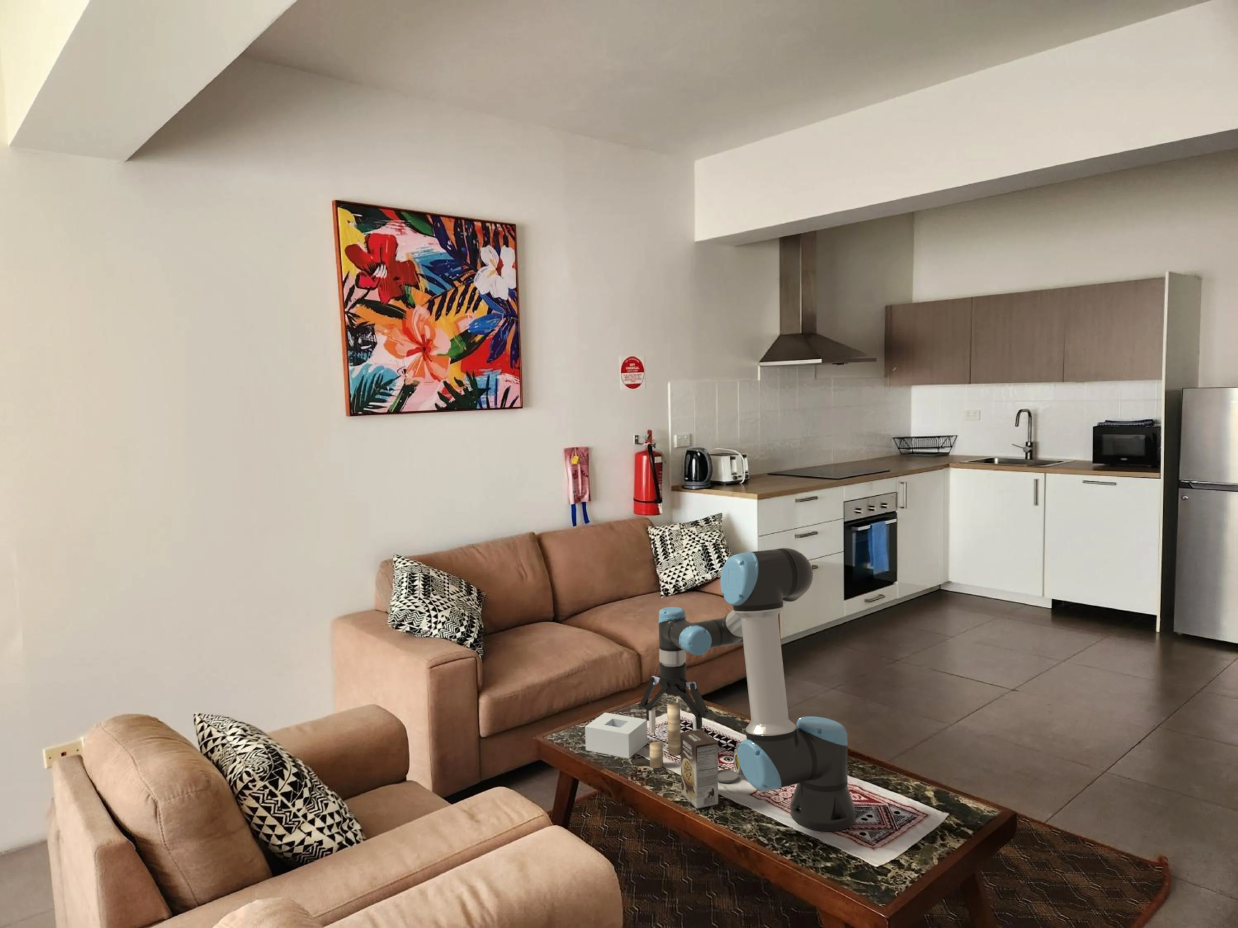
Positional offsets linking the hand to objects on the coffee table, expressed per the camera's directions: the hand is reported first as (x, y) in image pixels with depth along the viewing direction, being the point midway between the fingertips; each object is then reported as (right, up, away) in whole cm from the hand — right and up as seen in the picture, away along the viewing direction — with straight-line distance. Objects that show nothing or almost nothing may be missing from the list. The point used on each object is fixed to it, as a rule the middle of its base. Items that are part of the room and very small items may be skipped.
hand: (674, 735), depth 240 cm
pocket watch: (+14, -6, -17) cm, 23 cm away
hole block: (-16, -5, +6) cm, 18 cm away
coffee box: (+5, -7, -28) cm, 29 cm away
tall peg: (0, -5, 0) cm, 5 cm away
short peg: (-5, -6, -8) cm, 11 cm away
